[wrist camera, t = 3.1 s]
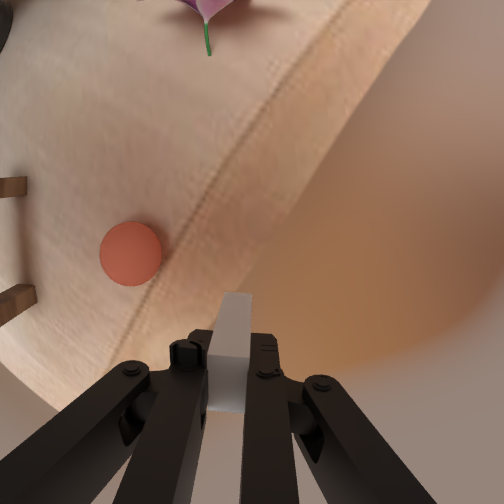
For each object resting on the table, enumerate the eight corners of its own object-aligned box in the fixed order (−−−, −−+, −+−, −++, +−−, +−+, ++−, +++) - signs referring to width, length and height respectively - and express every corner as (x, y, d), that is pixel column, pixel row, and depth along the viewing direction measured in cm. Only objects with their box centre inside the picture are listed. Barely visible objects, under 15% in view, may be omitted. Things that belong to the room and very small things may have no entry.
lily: (301, 36, 24) (306, -47, 15) (228, 103, 22) (210, -3, 12) (206, 12, 27) (193, -56, 17) (130, 68, 24) (96, -8, 15)
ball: (114, 217, 27) (86, 226, 22) (168, 218, 27) (149, 228, 22) (117, 273, 28) (91, 292, 23) (169, 277, 28) (151, 298, 23)
